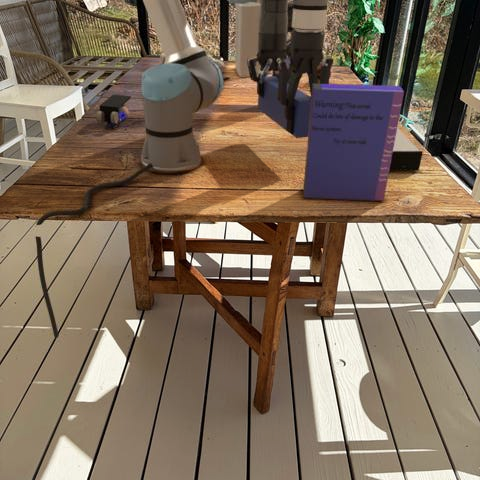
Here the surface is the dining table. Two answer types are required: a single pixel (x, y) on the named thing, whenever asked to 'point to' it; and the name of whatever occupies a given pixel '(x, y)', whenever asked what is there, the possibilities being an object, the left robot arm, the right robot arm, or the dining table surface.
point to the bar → (276, 109)
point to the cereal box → (351, 141)
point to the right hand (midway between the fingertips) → (269, 95)
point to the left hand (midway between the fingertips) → (299, 130)
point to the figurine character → (113, 110)
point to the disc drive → (405, 154)
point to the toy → (163, 57)
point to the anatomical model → (320, 70)
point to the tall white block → (246, 36)
